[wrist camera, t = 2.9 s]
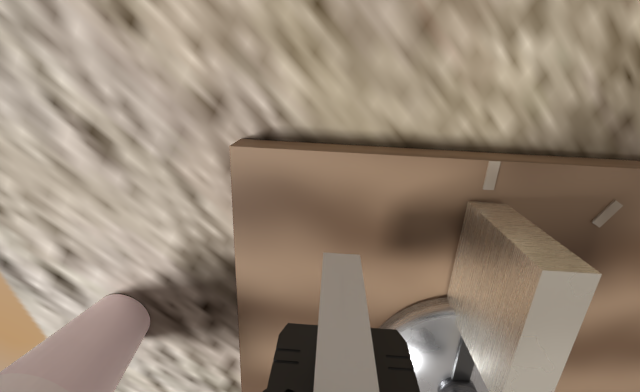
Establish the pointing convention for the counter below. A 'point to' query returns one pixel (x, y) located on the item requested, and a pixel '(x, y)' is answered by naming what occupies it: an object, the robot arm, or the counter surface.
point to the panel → (425, 238)
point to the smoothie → (83, 351)
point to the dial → (499, 309)
